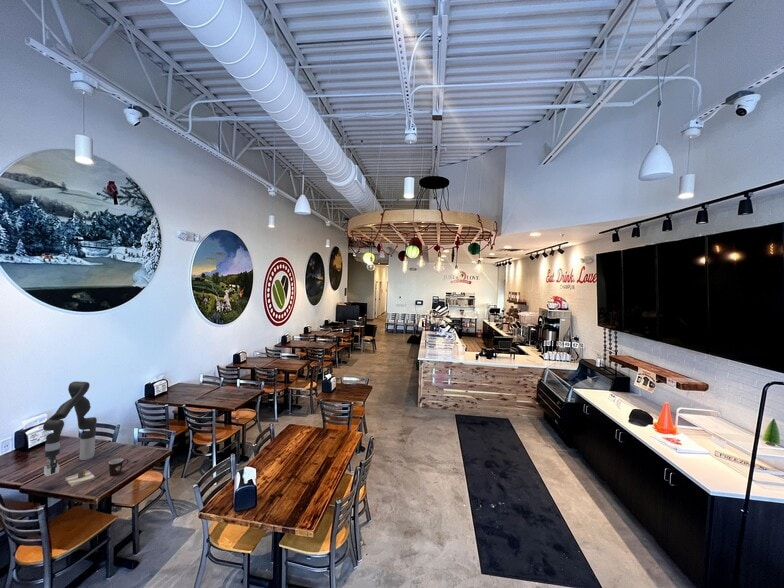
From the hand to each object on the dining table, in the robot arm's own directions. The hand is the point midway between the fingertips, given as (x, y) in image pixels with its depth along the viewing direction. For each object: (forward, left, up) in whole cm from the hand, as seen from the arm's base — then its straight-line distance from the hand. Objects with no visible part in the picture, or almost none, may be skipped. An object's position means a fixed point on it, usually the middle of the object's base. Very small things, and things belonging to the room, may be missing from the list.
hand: (51, 471), depth 231 cm
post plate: (+2, +15, -11) cm, 19 cm away
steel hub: (0, 0, -1) cm, 1 cm away
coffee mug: (+14, +34, -12) cm, 39 cm away
